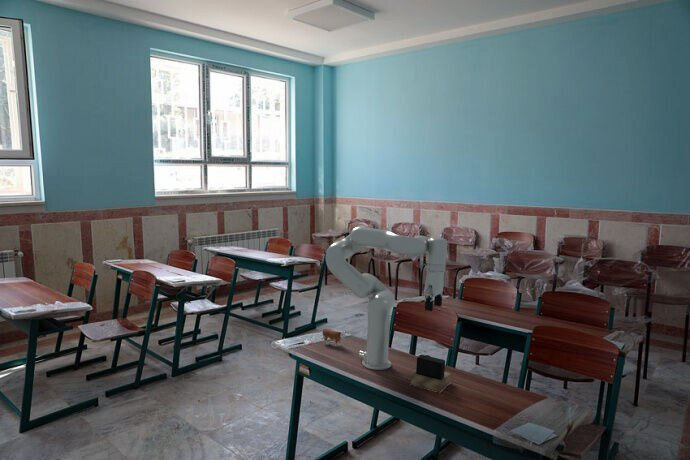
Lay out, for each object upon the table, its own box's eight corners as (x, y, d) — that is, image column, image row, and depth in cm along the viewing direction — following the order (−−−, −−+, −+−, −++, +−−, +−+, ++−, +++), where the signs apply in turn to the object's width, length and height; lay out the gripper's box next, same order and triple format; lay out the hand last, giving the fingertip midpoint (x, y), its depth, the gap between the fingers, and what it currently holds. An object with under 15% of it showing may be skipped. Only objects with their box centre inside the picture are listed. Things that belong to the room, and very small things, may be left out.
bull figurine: (343, 349, 231) (344, 332, 230) (320, 343, 238) (321, 326, 237) (348, 347, 234) (349, 330, 233) (325, 341, 241) (326, 324, 241)
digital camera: (445, 375, 195) (446, 359, 194) (440, 380, 190) (442, 363, 189) (421, 369, 200) (422, 353, 199) (415, 373, 195) (417, 357, 195)
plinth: (409, 385, 194) (410, 375, 194) (422, 374, 205) (423, 365, 204) (440, 393, 187) (440, 383, 187) (451, 382, 198) (452, 373, 198)
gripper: (435, 263, 211) (432, 302, 213) (419, 269, 197) (416, 310, 199) (452, 266, 207) (449, 305, 209) (436, 271, 193) (433, 314, 195)
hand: (433, 308), depth 204 cm, fingers open, 9 cm apart
